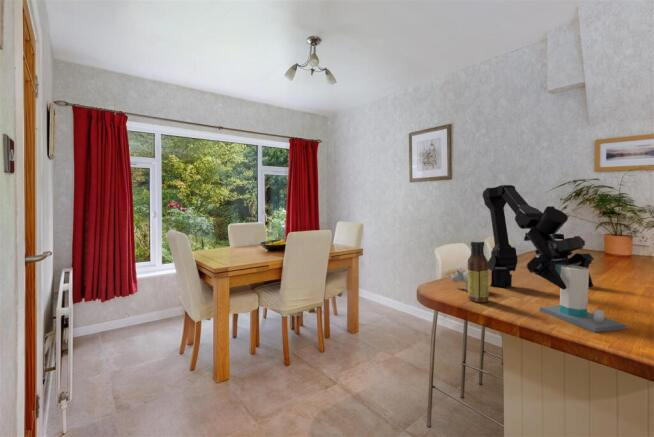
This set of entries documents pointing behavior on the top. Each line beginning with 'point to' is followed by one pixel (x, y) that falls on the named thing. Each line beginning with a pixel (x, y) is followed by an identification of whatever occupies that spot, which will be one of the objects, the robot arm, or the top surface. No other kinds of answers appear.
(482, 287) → the sauce bottle
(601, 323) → the pin plate
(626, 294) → the top surface
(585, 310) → the vase
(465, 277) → the chubby cartoon animal
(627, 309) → the top surface
